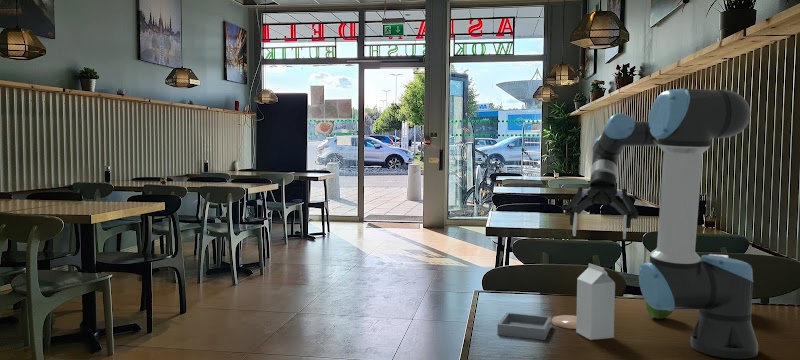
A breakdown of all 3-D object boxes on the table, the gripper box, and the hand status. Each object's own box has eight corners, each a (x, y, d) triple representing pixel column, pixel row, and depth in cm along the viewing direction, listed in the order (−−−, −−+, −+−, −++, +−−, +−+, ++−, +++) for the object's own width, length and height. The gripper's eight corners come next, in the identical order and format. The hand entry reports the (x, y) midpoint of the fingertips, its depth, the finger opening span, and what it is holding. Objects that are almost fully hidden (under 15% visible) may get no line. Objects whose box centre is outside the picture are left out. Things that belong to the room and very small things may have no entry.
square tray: (551, 326, 178) (551, 316, 178) (544, 339, 167) (544, 329, 166) (506, 321, 183) (507, 312, 183) (497, 334, 171) (497, 324, 171)
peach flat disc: (599, 324, 180) (599, 321, 180) (574, 331, 174) (574, 328, 174) (568, 315, 189) (568, 313, 189) (543, 322, 183) (543, 319, 183)
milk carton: (590, 340, 166) (591, 269, 165) (575, 332, 173) (577, 263, 172) (614, 338, 168) (615, 267, 167) (598, 330, 175) (600, 262, 173)
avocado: (644, 320, 185) (645, 279, 184) (646, 313, 192) (647, 274, 191) (673, 323, 181) (675, 282, 180) (674, 316, 188) (675, 277, 188)
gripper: (647, 187, 190) (645, 245, 177) (562, 185, 199) (554, 239, 186) (647, 171, 185) (646, 229, 172) (560, 169, 194) (552, 224, 181)
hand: (598, 234), depth 179 cm, fingers open, 13 cm apart
